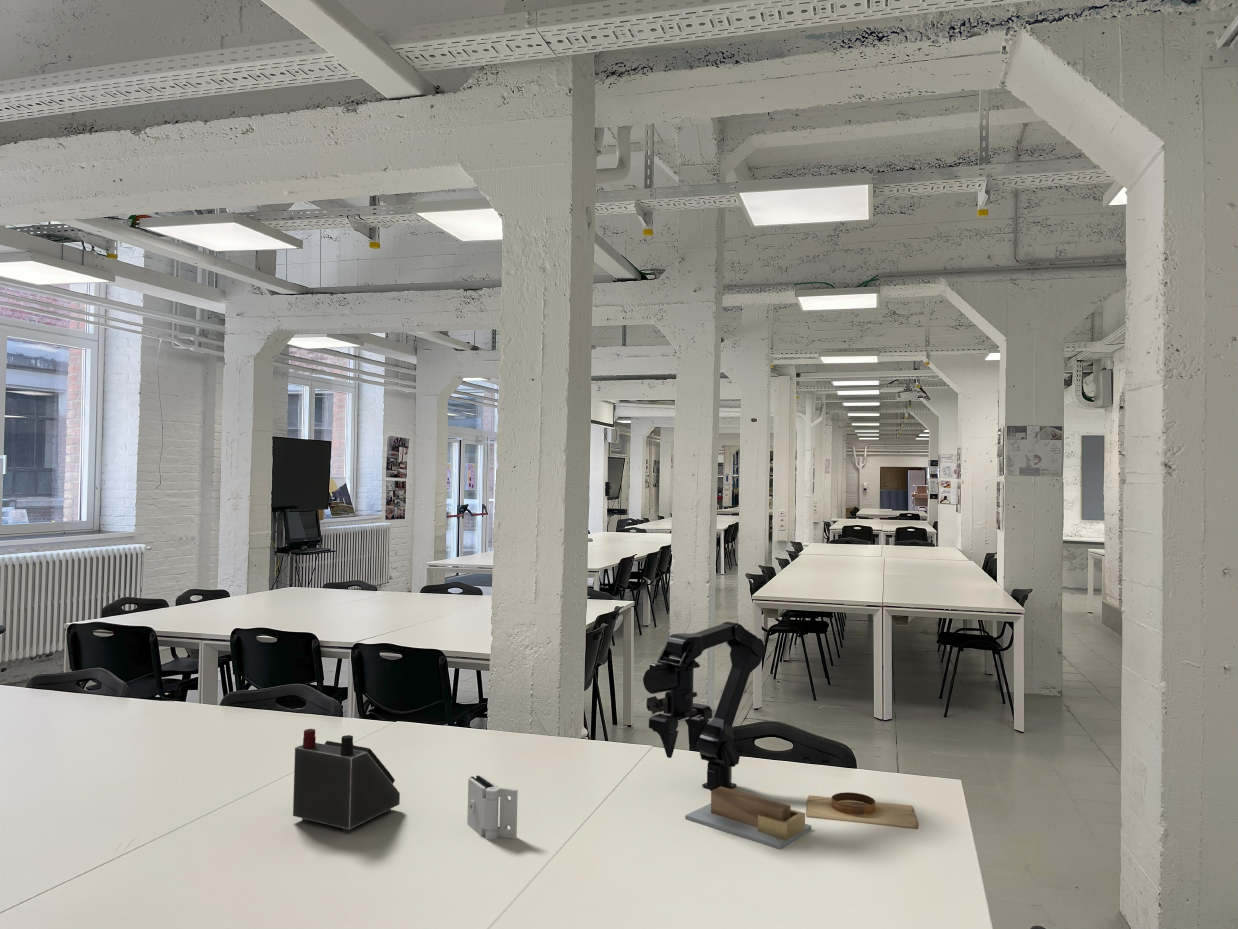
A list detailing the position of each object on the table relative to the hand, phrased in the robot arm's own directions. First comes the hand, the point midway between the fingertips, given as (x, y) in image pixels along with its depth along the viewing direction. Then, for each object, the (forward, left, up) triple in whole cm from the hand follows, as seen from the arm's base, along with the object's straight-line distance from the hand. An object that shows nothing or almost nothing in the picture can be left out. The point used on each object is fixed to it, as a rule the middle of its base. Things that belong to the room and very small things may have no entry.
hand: (680, 753), depth 200 cm
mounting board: (+2, +20, -11) cm, 23 cm away
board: (-23, +35, -12) cm, 43 cm away
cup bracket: (+2, +28, -10) cm, 30 cm away
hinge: (+43, -19, -11) cm, 48 cm away
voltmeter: (+59, -49, -11) cm, 78 cm away
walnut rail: (+2, +20, -10) cm, 23 cm away
